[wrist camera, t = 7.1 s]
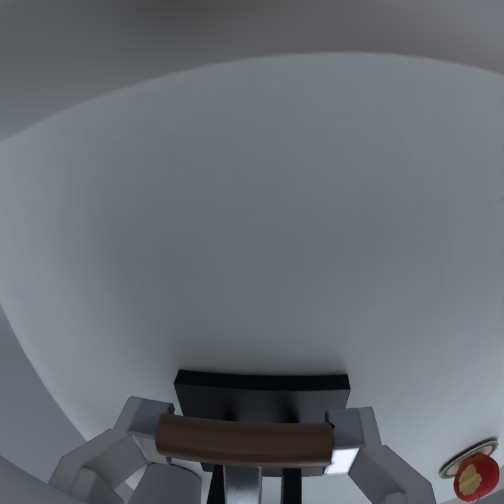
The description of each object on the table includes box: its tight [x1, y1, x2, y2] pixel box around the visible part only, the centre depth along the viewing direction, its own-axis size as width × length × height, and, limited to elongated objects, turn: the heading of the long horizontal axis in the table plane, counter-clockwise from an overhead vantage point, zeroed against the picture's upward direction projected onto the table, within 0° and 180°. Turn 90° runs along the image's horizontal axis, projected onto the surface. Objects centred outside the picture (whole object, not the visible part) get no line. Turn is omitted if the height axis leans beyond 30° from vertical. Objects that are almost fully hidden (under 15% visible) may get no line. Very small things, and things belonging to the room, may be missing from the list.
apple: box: [440, 441, 499, 502], centre depth 18 cm, size 8×8×6 cm
